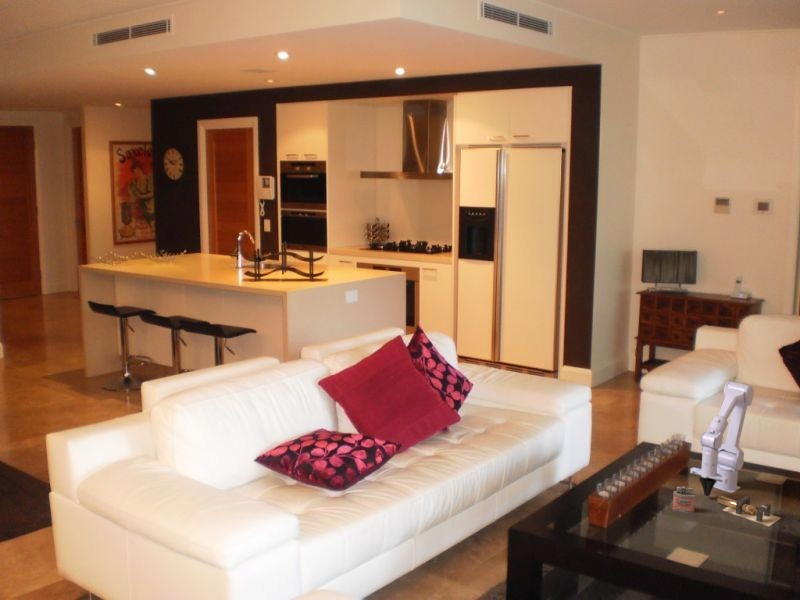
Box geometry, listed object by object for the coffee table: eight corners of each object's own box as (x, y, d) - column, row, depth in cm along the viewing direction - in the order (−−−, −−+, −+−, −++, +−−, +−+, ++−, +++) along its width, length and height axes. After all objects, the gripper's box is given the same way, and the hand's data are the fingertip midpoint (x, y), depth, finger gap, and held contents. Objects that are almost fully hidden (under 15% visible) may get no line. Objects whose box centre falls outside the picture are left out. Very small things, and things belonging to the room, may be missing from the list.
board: (722, 511, 321) (723, 498, 320) (734, 503, 327) (735, 491, 326) (768, 527, 307) (769, 514, 306) (781, 519, 314) (782, 506, 313)
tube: (717, 504, 326) (717, 496, 325) (720, 501, 328) (721, 494, 327) (752, 516, 315) (752, 508, 315) (755, 513, 317) (756, 506, 317)
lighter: (671, 511, 321) (673, 487, 319) (672, 508, 324) (674, 483, 322) (694, 515, 318) (695, 490, 316) (694, 511, 321) (696, 487, 319)
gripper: (687, 459, 330) (685, 492, 333) (722, 470, 319) (719, 504, 322) (696, 455, 335) (694, 487, 337) (731, 466, 324) (728, 498, 327)
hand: (707, 495), depth 330 cm, fingers closed
